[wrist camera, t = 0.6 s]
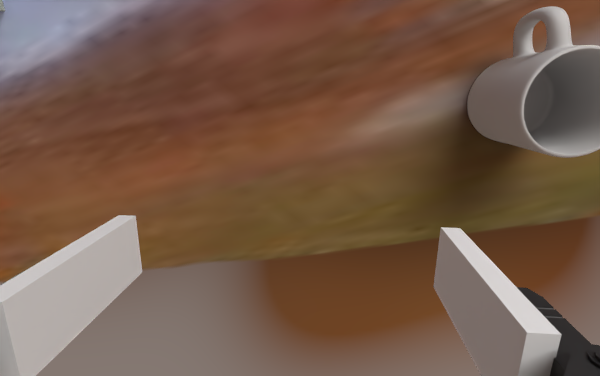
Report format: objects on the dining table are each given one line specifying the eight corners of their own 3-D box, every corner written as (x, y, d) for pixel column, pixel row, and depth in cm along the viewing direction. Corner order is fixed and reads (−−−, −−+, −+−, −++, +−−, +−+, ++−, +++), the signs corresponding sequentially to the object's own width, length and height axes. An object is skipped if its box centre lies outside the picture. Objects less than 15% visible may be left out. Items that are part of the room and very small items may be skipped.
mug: (552, 133, 38) (638, 148, 27) (469, 147, 39) (521, 168, 28) (548, 13, 35) (643, -22, 24) (459, 32, 36) (513, 7, 26)
